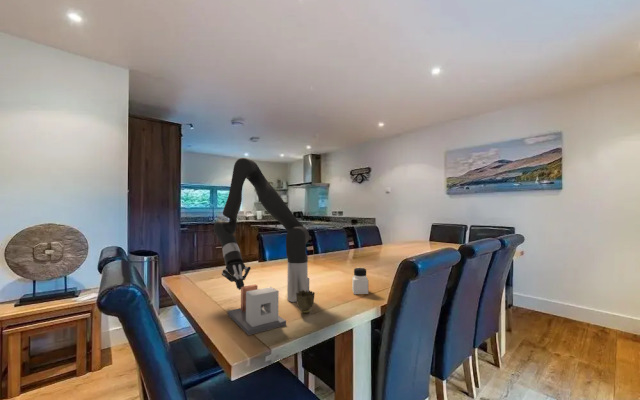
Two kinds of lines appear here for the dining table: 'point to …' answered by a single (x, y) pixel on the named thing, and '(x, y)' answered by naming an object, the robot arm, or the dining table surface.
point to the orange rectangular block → (243, 295)
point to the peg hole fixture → (258, 311)
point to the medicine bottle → (360, 281)
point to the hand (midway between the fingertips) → (241, 288)
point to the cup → (305, 301)
